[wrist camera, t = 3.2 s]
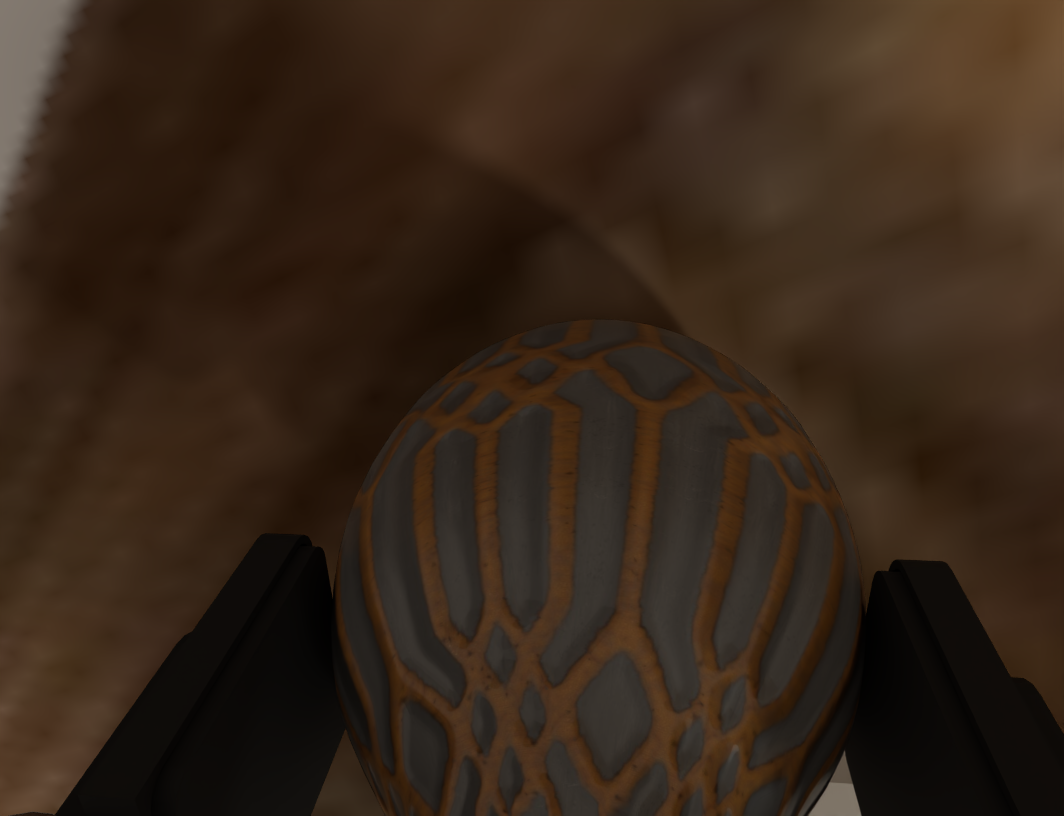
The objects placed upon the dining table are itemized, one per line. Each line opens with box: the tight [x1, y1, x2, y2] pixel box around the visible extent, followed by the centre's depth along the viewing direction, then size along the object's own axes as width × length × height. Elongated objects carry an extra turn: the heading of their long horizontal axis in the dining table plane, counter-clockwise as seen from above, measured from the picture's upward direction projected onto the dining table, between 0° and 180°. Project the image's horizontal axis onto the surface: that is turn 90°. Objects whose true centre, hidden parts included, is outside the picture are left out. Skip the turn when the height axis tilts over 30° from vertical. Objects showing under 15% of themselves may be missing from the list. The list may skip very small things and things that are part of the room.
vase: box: [331, 319, 866, 816], centre depth 11 cm, size 7×7×9 cm
